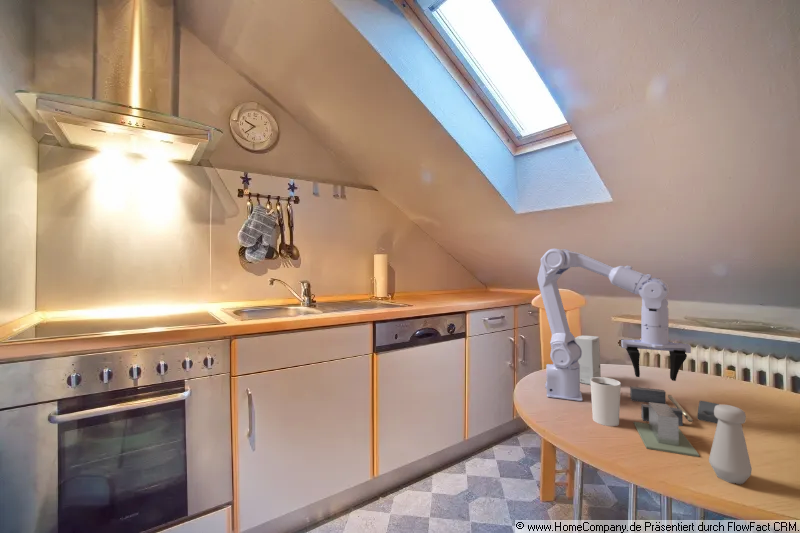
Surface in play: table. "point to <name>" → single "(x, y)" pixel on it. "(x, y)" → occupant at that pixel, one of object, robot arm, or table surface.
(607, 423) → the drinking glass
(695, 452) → the mat
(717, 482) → the table surface
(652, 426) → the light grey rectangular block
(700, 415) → the bracket
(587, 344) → the skincare box
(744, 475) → the salt shaker
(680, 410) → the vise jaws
